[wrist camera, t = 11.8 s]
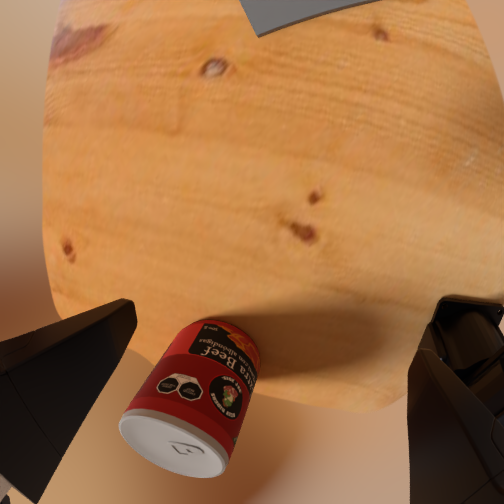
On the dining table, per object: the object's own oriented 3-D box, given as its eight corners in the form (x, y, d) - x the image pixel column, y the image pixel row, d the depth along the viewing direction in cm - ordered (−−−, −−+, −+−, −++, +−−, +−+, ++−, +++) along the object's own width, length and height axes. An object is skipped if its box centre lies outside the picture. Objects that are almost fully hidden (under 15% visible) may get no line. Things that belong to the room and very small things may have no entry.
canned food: (280, 366, 27) (249, 475, 17) (214, 390, 30) (173, 480, 20) (224, 301, 25) (163, 406, 15) (162, 336, 29) (99, 422, 19)
